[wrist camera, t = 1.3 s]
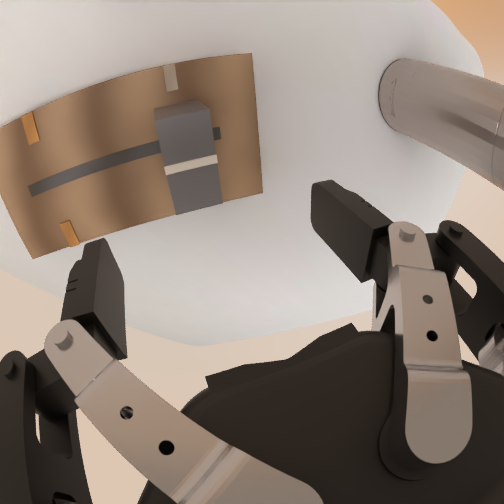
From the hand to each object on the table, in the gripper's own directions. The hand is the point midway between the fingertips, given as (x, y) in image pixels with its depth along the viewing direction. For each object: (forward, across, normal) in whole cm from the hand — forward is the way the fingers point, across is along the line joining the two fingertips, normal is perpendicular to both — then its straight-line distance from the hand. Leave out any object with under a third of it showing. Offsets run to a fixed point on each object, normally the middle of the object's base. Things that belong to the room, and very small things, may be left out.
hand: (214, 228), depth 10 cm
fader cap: (+12, 0, 0) cm, 12 cm away
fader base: (+15, +5, 0) cm, 16 cm away
